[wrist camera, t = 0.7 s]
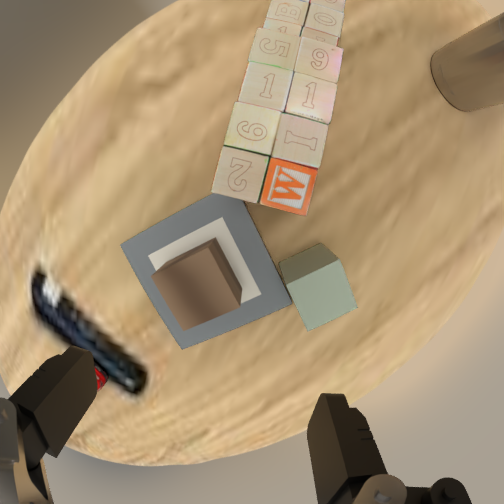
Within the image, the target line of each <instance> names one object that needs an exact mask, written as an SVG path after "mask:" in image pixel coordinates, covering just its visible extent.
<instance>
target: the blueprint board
mask: <svg viewBox="0 0 504 504" xmlns="http://www.w3.org/2000/svg"><path fill="white" fill-rule="evenodd" d="M120 246H121V248H122V250H123V252H124V254H125V255H126V257H127V259H128V261H129V263H130V265H131V267H132V268H133V270H134V272H135V274H136V276H137V277H138V279H139V281H140V283H141V285H142V286H143V288H144V290H145V292H146V293H147V295H148V297H149V298H150V300H151V302H152V303H153V305H154V307H155V308H156V310H157V312H158V313H159V315H160V317H161V318H162V320H163V321H164V323H165V325H166V326H167V328H168V329H169V331H170V332H171V334H172V335H173V337H174V339H175V340H176V342H177V343H178V345H179V346H180V348H181V349H185V348H188V347H190V346H193V345H195V344H198V343H201V342H203V341H206V340H208V339H211V338H213V337H216V336H218V335H221V334H223V333H226V332H228V331H231V330H233V329H235V328H238V327H240V326H243V325H245V324H247V323H250V322H252V321H254V320H257V319H259V318H261V317H264V316H266V315H268V314H271V313H273V312H275V311H277V310H280V309H282V308H284V307H286V306H288V305H291V304H292V301H291V299H290V296H289V294H288V292H287V290H286V288H285V286H284V284H283V282H282V280H281V278H280V276H279V274H278V271H277V269H276V267H275V265H274V263H273V261H272V259H271V257H270V255H269V253H268V251H267V249H266V247H265V245H264V243H263V241H262V238H261V236H260V234H259V232H258V230H257V228H256V226H255V224H254V222H253V220H252V218H251V216H250V214H249V212H248V210H247V208H246V206H245V204H244V202H243V200H240V199H237V198H233V197H229V196H225V195H221V194H216V193H213V194H211V195H209V196H207V197H205V198H203V199H201V200H200V201H198V202H196V203H194V204H192V205H190V206H188V207H186V208H184V209H183V210H181V211H179V212H177V213H175V214H173V215H172V216H170V217H168V218H166V219H164V220H162V221H161V222H159V223H157V224H155V225H154V226H152V227H150V228H148V229H147V230H145V231H143V232H141V233H140V234H138V235H136V236H134V237H133V238H131V239H129V240H128V241H126V242H124V243H123V244H121V245H120Z"/></svg>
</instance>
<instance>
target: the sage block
mask: <svg viewBox="0 0 504 504" xmlns="http://www.w3.org/2000/svg"><path fill="white" fill-rule="evenodd" d="M279 266H280V269H281V272H282V275H283V278H284V281H285V284H286V286H287V289H288V291H289V293H290V295H291V297H292V299H293V301H294V303H295V305H296V307H297V310H298V312H299V314H300V316H301V318H302V320H303V322H304V324H305V327H306V329H307V331H310V330H312V329H315V328H317V327H319V326H321V325H323V324H325V323H328V322H330V321H332V320H334V319H336V318H338V317H340V316H342V315H344V314H346V313H348V312H350V311H352V310H354V309H356V308H358V307H357V304H356V301H355V298H354V295H353V293H352V290H351V287H350V285H349V282H348V279H347V277H346V274H345V271H344V269H343V266H342V264H341V261H340V259H339V258H338V257H337V256H336V255H334V254H333V253H332V252H331V251H330V250H329V249H328V248H326V247H325V246H324V245H323V244H322V243H320V244H317V245H315V246H313V247H311V248H309V249H307V250H305V251H303V252H301V253H299V254H296V255H294V256H292V257H290V258H288V259H286V260H284V261H282V262H279Z"/></svg>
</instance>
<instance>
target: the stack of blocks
mask: <svg viewBox="0 0 504 504" xmlns="http://www.w3.org/2000/svg"><path fill="white" fill-rule="evenodd" d="M345 2H346V0H272V1H271V4H270V7H269V10H268V13H267V16H266V19H265V21H264V24H263V28H260V27H259V28H257V31H256V34H255V38H254V41H253V44H252V48H251V51H250V54H249V58H248V65H247V68H246V72H245V75H244V79H243V82H242V86H241V89H240V93H239V96H238V100H237V101H236V102H235V104H234V107H233V110H232V114H231V118H230V122H229V125H228V129H227V132H226V136H225V140H224V146H223V147H222V149H221V153H220V156H219V160H218V164H217V168H216V172H215V175H214V179H213V183H212V188H211V192H212V193H216V194H221V195H225V196H229V197H233V198H237V199H240V200H244V201H248V202H252V203H260V204H262V205H265V206H269V207H272V208H276V209H280V210H284V211H287V212H291V213H295V214H299V215H303V216H306V215H307V212H308V208H309V204H310V200H311V196H312V192H313V188H314V184H315V181H316V177H317V169H318V168H319V167H320V164H321V160H322V156H323V151H324V146H325V142H326V137H327V132H328V125H329V124H330V122H331V118H332V114H333V108H334V103H335V98H336V93H337V82H338V79H339V74H340V68H341V62H342V56H343V51H344V50H343V48H340V47H337V44H338V40H339V38H340V35H341V31H342V26H343V20H344V13H343V12H344V7H345Z"/></svg>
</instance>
